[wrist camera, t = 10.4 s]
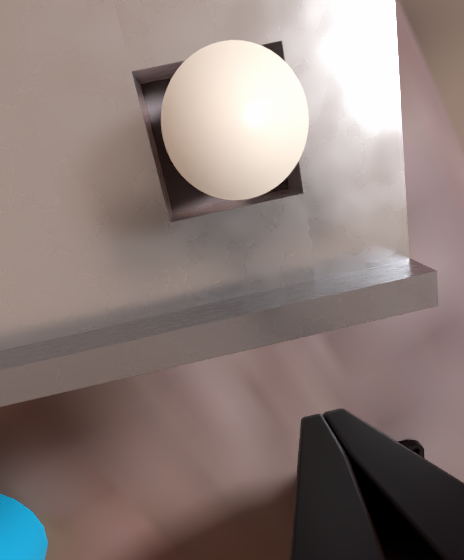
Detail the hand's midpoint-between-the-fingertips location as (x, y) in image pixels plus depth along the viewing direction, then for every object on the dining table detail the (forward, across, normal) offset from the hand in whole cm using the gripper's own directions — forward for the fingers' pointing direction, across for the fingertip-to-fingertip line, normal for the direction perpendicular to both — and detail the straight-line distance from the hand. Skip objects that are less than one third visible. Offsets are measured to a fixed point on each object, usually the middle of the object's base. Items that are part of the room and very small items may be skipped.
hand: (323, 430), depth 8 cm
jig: (+12, +3, -6) cm, 14 cm away
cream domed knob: (+12, 0, -6) cm, 13 cm away
